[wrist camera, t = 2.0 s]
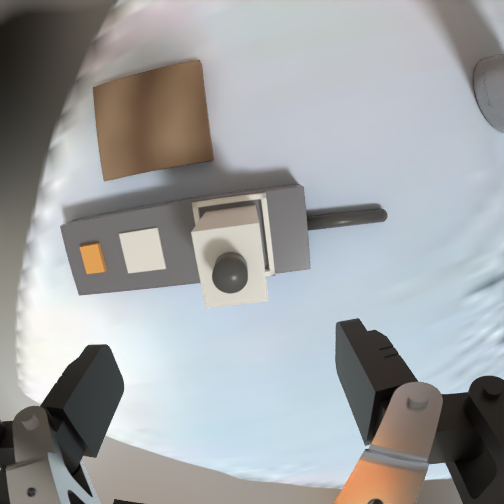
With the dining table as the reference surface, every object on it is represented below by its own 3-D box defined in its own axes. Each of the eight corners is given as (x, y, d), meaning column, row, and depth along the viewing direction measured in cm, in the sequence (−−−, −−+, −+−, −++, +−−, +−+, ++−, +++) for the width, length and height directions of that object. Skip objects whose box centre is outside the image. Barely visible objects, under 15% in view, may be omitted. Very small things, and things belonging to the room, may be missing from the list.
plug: (255, 204, 25) (260, 228, 17) (262, 263, 26) (270, 312, 18) (205, 211, 25) (186, 238, 17) (215, 269, 26) (203, 319, 18)
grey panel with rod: (382, 177, 27) (397, 179, 24) (384, 248, 29) (398, 258, 26) (72, 220, 27) (56, 227, 24) (89, 285, 29) (76, 297, 26)
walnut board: (201, 63, 23) (199, 59, 22) (213, 160, 26) (212, 160, 25) (98, 89, 23) (93, 87, 22) (109, 180, 26) (103, 181, 25)
